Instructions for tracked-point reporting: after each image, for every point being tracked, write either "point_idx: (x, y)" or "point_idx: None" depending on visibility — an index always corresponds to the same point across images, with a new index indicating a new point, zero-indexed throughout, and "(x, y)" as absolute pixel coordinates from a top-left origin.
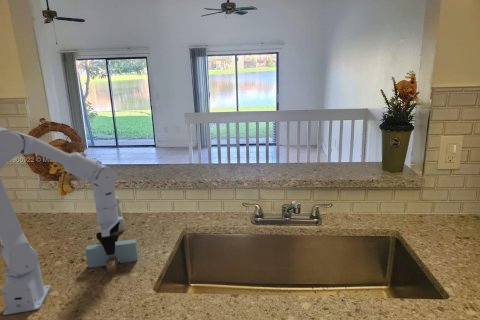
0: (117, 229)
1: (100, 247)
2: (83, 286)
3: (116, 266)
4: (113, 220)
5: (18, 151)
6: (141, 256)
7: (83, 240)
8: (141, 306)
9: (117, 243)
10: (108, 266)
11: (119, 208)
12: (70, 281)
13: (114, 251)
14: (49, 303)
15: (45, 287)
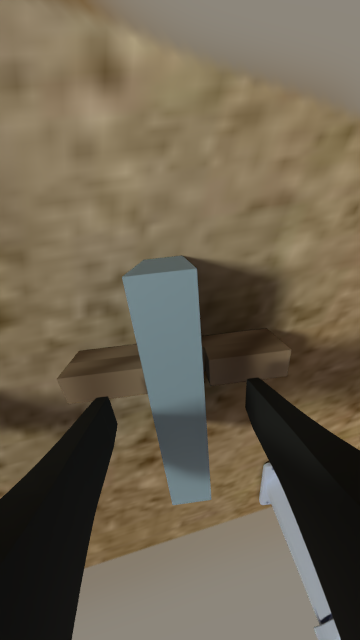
0: (57, 489)
1: (206, 458)
2: (295, 399)
3: (227, 337)
4: None
5: None
6: (144, 241)
7: (13, 475)
8: None
9: (177, 395)
10: (286, 368)
11: None
12: (255, 433)
13: (269, 386)
14: None
15: (273, 471)
